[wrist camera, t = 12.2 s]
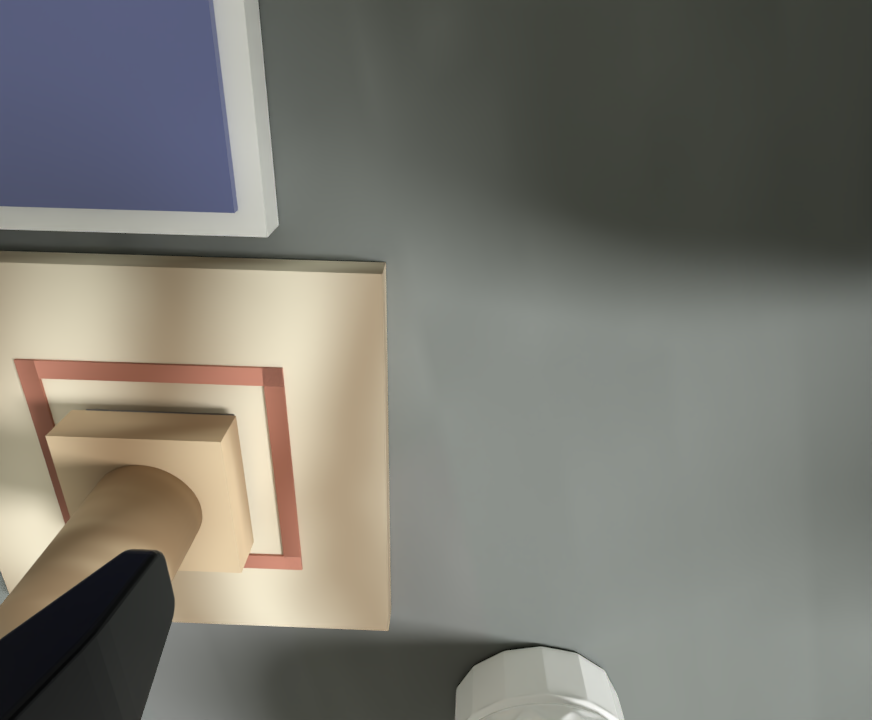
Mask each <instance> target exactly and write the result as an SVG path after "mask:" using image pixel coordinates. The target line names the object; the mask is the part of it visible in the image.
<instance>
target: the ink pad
mask: <svg viewBox="0 0 872 720" xmlns="http://www.w3.org/2000/svg"><path fill="white" fill-rule="evenodd" d="M278 226H279V221H278V210H277V199H276V188H275V177H274V166H273V155H272V145H271V134H270V123H269V112H268V101H267V90H266V79H265V68H264V57H263V47H262V36H261V25H260V14H259V3H258V0H0V229H6V230H39V231H73V232H107V233H140V234H174V235H207V236H241V237H268V236H269V235H270V234H271V233H272V232H273V231H274V230H275V229H276V228H277V227H278Z"/></svg>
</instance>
